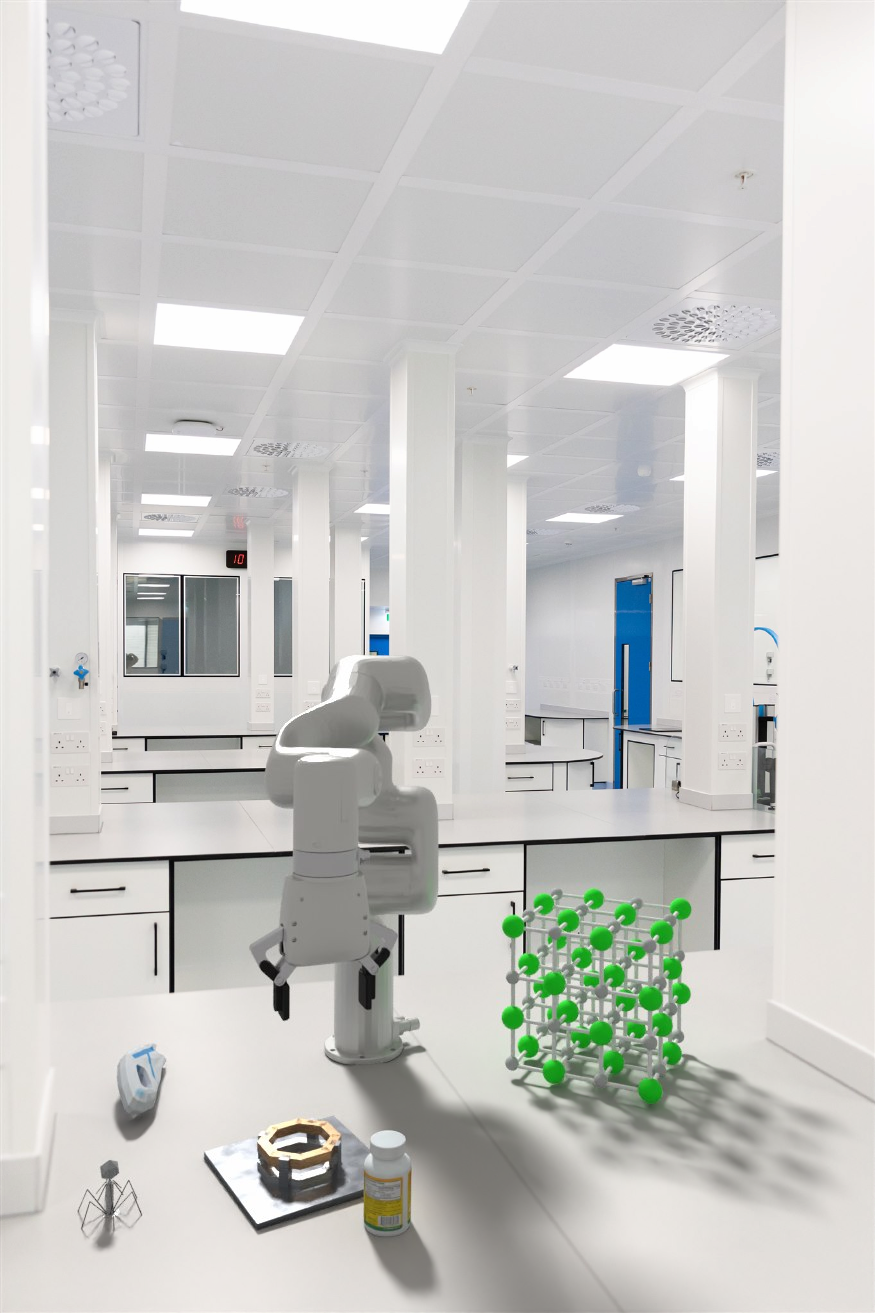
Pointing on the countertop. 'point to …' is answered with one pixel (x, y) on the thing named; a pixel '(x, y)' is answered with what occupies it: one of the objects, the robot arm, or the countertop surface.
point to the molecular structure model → (599, 988)
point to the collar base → (292, 1170)
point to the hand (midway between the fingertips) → (324, 1011)
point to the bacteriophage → (109, 1191)
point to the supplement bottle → (387, 1185)
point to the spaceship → (139, 1078)
